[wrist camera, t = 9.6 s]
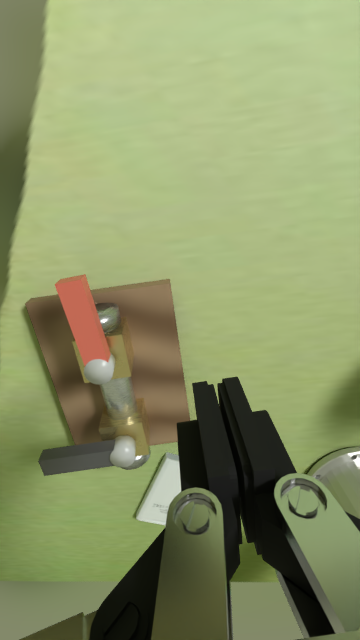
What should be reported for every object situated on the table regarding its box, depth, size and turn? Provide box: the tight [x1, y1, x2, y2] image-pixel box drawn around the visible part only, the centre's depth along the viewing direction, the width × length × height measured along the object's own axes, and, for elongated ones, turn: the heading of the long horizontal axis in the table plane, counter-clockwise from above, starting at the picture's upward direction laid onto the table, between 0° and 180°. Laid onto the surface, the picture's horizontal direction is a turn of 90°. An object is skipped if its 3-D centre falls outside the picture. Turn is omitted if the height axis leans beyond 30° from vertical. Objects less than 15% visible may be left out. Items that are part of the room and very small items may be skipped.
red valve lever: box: [55, 275, 116, 385], centre depth 25 cm, size 9×2×2 cm, turn 10°
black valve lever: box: [38, 435, 136, 476], centre depth 31 cm, size 9×2×2 cm, turn 97°
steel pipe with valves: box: [72, 303, 150, 470], centre depth 32 cm, size 18×4×4 cm, turn 7°
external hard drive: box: [136, 452, 181, 525], centre depth 43 cm, size 2×8×12 cm
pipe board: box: [25, 279, 190, 446], centre depth 34 cm, size 20×14×2 cm
